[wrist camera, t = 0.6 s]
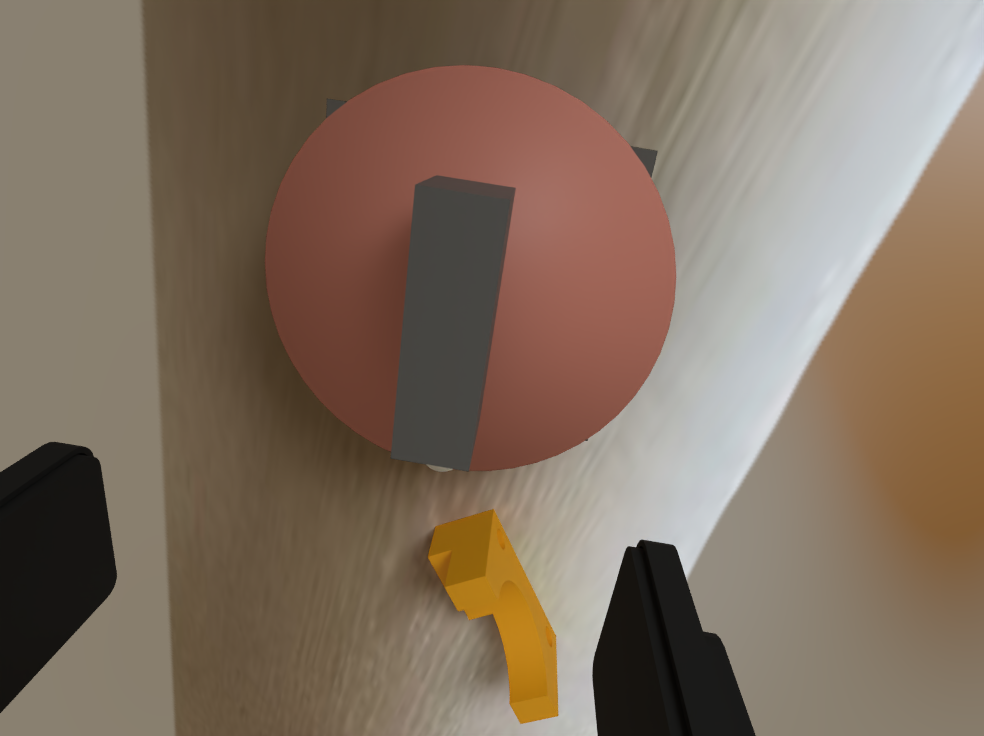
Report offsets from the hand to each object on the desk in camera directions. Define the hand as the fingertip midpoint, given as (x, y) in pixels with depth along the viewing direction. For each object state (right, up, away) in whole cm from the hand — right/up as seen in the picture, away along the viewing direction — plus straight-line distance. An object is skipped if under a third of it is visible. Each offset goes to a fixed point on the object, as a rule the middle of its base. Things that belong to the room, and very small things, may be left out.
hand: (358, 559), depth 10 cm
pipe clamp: (+3, -12, +31) cm, 34 cm away
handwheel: (+1, +7, +16) cm, 18 cm away
